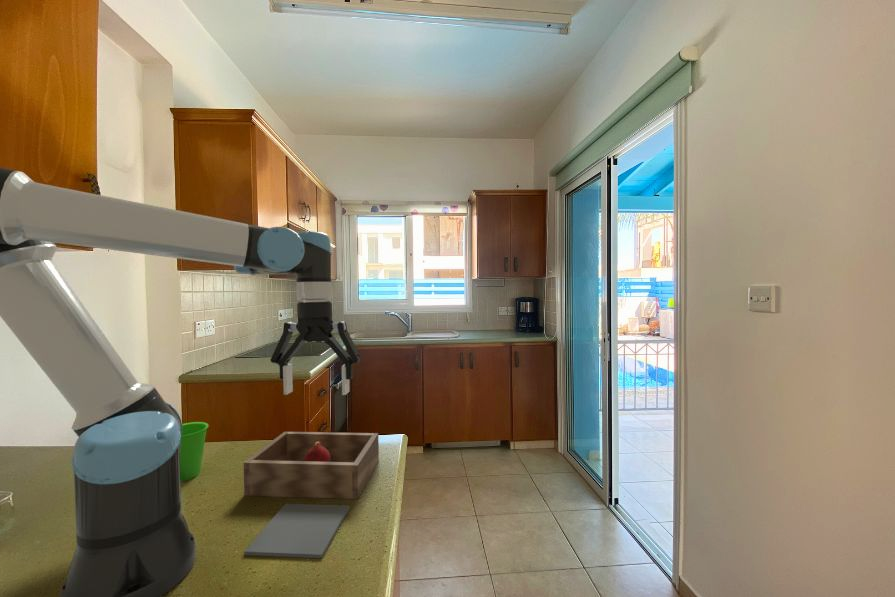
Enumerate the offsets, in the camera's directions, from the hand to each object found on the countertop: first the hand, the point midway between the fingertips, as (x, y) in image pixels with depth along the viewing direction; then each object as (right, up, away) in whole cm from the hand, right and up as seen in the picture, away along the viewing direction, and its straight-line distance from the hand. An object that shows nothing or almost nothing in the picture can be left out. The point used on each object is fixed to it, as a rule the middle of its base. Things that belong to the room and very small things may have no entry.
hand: (316, 393), depth 82 cm
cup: (-31, -20, +1) cm, 37 cm away
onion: (0, -20, 0) cm, 20 cm away
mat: (+4, -20, -18) cm, 27 cm away
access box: (0, -19, 0) cm, 19 cm away
